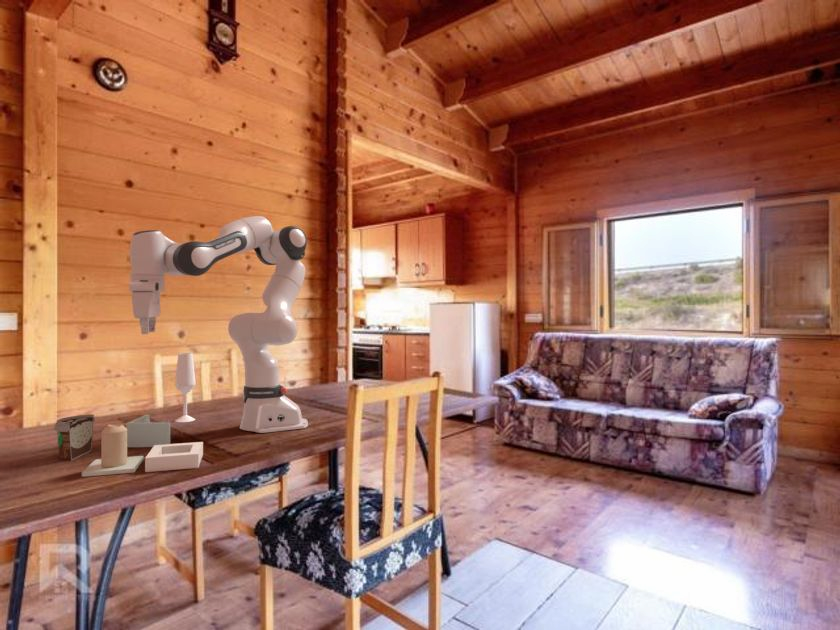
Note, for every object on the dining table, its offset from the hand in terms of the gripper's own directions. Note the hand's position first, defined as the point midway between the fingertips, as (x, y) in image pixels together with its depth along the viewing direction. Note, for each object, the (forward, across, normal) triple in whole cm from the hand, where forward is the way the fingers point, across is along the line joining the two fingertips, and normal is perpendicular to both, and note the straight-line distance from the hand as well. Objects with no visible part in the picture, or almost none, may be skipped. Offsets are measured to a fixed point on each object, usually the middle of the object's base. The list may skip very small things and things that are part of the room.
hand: (148, 333), depth 144 cm
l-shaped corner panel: (+34, -4, +1) cm, 34 cm away
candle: (+32, +21, -4) cm, 38 cm away
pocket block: (+33, +20, +9) cm, 40 cm away
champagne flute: (+34, -33, +6) cm, 47 cm away
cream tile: (+33, +20, -5) cm, 39 cm away
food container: (+33, +5, -18) cm, 38 cm away
